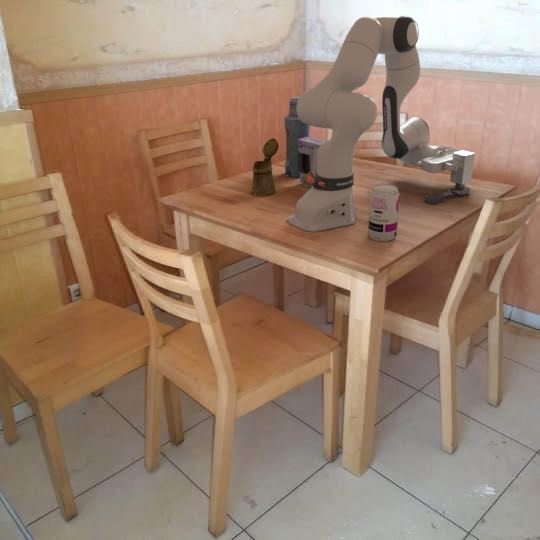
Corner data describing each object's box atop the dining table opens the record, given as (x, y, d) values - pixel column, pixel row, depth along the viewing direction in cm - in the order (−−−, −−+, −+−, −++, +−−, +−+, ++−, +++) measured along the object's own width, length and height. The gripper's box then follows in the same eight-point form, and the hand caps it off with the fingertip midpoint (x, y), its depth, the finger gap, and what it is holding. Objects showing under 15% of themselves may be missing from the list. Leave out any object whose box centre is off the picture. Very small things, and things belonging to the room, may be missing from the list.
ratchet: (457, 189, 200) (459, 171, 198) (473, 194, 195) (476, 176, 192) (420, 200, 191) (422, 182, 188) (436, 205, 186) (438, 187, 183)
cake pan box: (297, 183, 213) (296, 137, 205) (307, 181, 216) (307, 135, 208) (327, 196, 199) (328, 147, 191) (339, 193, 201) (340, 144, 193)
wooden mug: (285, 186, 210) (284, 139, 202) (267, 197, 199) (266, 147, 191) (265, 183, 214) (263, 137, 206) (246, 194, 204) (244, 145, 196)
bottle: (283, 172, 227) (281, 96, 214) (306, 170, 229) (306, 94, 215) (288, 178, 219) (286, 100, 206) (312, 176, 220) (312, 98, 207)
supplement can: (394, 231, 167) (398, 183, 161) (397, 242, 160) (401, 192, 153) (367, 231, 168) (369, 183, 162) (368, 242, 161) (371, 192, 154)
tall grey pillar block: (461, 184, 191) (465, 155, 187) (450, 181, 195) (453, 152, 190) (471, 181, 194) (474, 153, 189) (459, 178, 197) (462, 150, 193)
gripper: (413, 154, 195) (445, 163, 185) (452, 145, 205) (484, 152, 195) (412, 172, 198) (443, 181, 187) (450, 161, 208) (482, 169, 197)
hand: (464, 166), depth 191 cm, fingers closed on tall grey pillar block, 5 cm apart
